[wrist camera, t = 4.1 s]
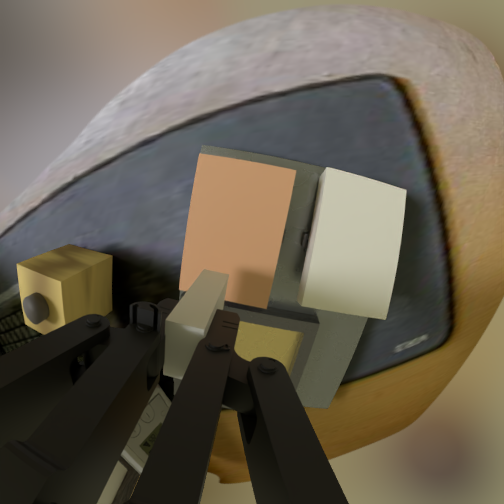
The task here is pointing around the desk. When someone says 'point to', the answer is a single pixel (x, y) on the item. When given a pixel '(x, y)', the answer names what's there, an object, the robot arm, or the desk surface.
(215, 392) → the robot arm
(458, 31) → the desk surface
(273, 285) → the panel
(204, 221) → the orange tan rectangular block
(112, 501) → the picture frame
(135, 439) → the digital clock
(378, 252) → the rocker plain
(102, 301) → the tan wooden block
